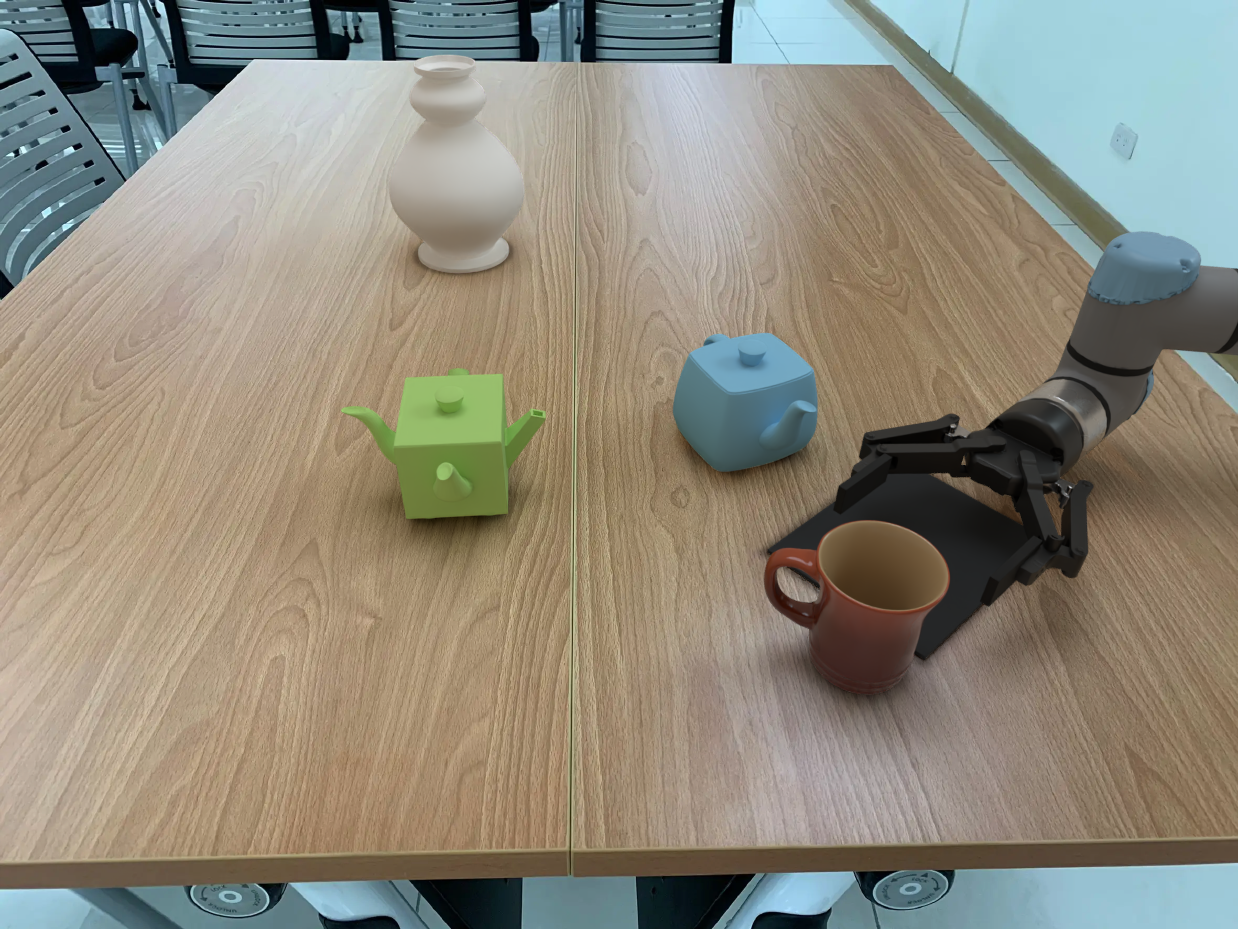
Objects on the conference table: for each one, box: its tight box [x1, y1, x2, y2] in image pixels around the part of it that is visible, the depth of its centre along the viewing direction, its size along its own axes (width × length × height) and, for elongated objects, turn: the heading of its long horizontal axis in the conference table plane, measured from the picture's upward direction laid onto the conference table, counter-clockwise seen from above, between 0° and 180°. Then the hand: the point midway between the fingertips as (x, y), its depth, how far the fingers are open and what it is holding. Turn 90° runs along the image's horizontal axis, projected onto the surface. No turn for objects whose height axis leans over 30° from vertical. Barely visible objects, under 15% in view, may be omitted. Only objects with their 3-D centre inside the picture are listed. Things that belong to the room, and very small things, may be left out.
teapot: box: [672, 332, 819, 473], centre depth 86 cm, size 12×18×12 cm
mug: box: [763, 520, 950, 696], centre depth 66 cm, size 13×9×11 cm
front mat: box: [766, 474, 1028, 661], centre depth 79 cm, size 16×20×1 cm
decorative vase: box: [388, 54, 526, 274], centre depth 116 cm, size 18×18×25 cm
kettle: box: [340, 367, 547, 520], centre depth 81 cm, size 15×14×11 cm
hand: (909, 543), depth 69 cm, fingers open, 13 cm apart
